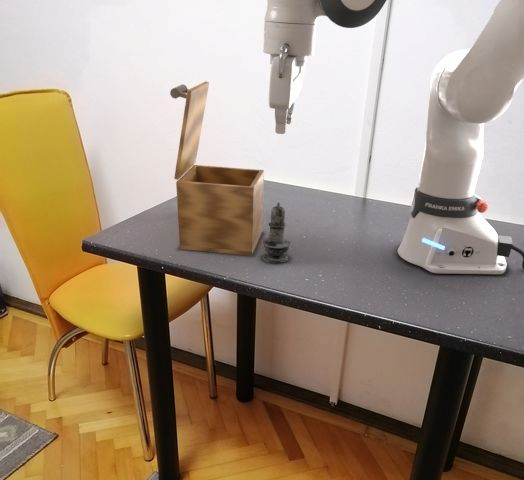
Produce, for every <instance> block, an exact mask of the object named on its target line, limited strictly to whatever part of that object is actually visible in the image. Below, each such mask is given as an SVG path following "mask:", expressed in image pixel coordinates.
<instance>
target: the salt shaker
mask: <svg viewBox="0 0 524 480" xmlns="http://www.w3.org/2000/svg"><path fill="white" fill-rule="evenodd" d="M285 217H286V210H285V208H284V207H283V206H281V203H280V202H277V203H276V206H274V207H272V208H271V210H270V222H268V226H269V234H268V237H265V238H264V239H263V240H262V243H261V244H262V245H263V248H264V252H265V253H266V254H264V255H263V257H262V259H263V260H264V261H265V262H267V263H270V264H284V263H286V262H288V260H289V257H288V256H287V255H286V253H288V250H289V248H290V246H291V241H290V240H289V239H288V238H286V236H285V228H286V227H287V223H285V219H286V218H285Z"/></svg>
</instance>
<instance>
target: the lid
mask: <svg viewBox="0 0 524 480" xmlns="http://www.w3.org/2000/svg"><path fill="white" fill-rule="evenodd" d="M209 86H210V82H209V81H207V80H205V81H203V82H201V83H199V84H197V85H194V86H192V87H191V88H188V87H187V85H185V84H182V83H181V84H180V85H178V86H176V87H173V88H171V89H170V91H169V94H170V96H171V98H172V99H175V100H176V99H178V98H182V99H185V104H184V109H183V110H184V111H183V118H182V124H181V130H180V137H179V143H178V150H177V158H176V164H175V171H174V176H173V177H174V180H175V181H178V180H179V179H180V178H181V177H182V176H183V175H184V174H185V173H186V172H187V171H188V170H189V169H190V168H191V167H192V166H193V165H196V162H197V156H198V151H199V146H200V145H199V144H200V139H201V134H202V133H201V132H202V128H203V122H204V115H205V110H206V103H207V97H208V92H209Z"/></svg>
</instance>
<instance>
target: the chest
mask: <svg viewBox="0 0 524 480" xmlns="http://www.w3.org/2000/svg"><path fill="white" fill-rule="evenodd" d="M264 181H265V170H264V169H253V168H241V167H229V166H228V167H227V166H213V165H201V164H194V165H193V166H192V167H191V168H190V169H189V170H188V171H187V172H186V173H185V174H183V175H182V176H181V177H180V178H179V179H178V180H176V182H175V186H176V205H177V223H178V239H179V241H178V242H179V250H185V251H186V250H187V251H195V252H196V251H197V252H206V253H207V252H208V253H218V254H229V255H239V256H240V255H241V256H250V257H252V256H253V254H254V253H255V249H256V247H257V245H258V243H259V240H260V238H261V236H262V233H263V214H264V213H263V208H264V183H265V182H264Z"/></svg>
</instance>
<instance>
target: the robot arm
mask: <svg viewBox="0 0 524 480" xmlns="http://www.w3.org/2000/svg"><path fill="white" fill-rule="evenodd" d="M266 2H267V5H266V11H265V12H266V13H265V16H264V25H263V45H262V46H263V49H262V50H263V51H262V52H263V53H264V54H267V55H269V58H270V59H269V64H270V75H269V88H268V107H269V108H270V109H274V120H275V130H274V131H275V133H276V134H278V135H284V134H286V132H287V125H290V124H291V123H292V122H293V113H294V107H295V101H296V100H297V98H298V97H299V95H300V94H301V91H302V87H303V80H304V75H305V69H306V65H307V58H308V57H311V56H314V55H315V48H316V47H315V46H316V34H317V21H318V18H319V17H324V16H325V17H326V18H328V19H329V20H330V21H331V22H332V23H334V25H337V26H339V27H342V28H344V29H356V28H359V27H362V26H364V25H366V24H368V23H370V22H371V21H372V20H374V19H375V18H376V16H377V15H378V14H379V13H380V12H381V10H382V9H383V8H384V5H385V4H386V2H387V0H267V1H266ZM523 80H524V0H499V2H498V3H497V5H496V6H495V7H494V10H493V12H492V15H491V16H490V18H489V20H488V22H487V23H486V24H485V26H484V28H483V29H482V31H481V32H480V34H479V35H478V37H477V39H476V40H475V41H474V43H473V44H472V45H471V47H470V48H469V49H459V50H455V51H453V52H451V53H449V54H447V56H445V57H443V59H442V60H440V62H438V63H437V65H436V66H435V68H434V69H433V72H432V75H431V79H430V92H429V98H428V99H429V100H428V109H427V119H426V129H425V130H426V131H425V133H426V134H425V145H424V152H423V158H422V162H421V168H420V173H419V178H418V184H417V186H416V187H415V189H414V193H413V195H412V199H411V204H410V212H409V213H410V219H409V222H408V225H407V228H406V231H405V233H404V235H403V238H402V240H401V243H400V244H399V246H398V248H397V254H398V256H399V257H400V258H402V259H403V260H404V261H406V262H407V263H410V264H412V265H415V266H418V267H421V268H423V269H424V270H426V271H428V272H430V273H432V274H443V275H444V274H445V275H446V274H447V275H448V274H449V275H451V274H454V275H455V274H456V275H503V274H504V273H505V272H506V270H507V266H508V265H507V261H506V258H509V257H510V254H511V251H512V250H513V251H514V252H517V253H518V254H519V255H520V256H521V257H522V263H521V267H522V270H524V250H522V249H521V248H519V247H517V246H515V245H514V244H513V237H512V236H507V235H498V233H497V232H496V230H495V229H494V227H492V225H491V224H490V223H489V222H488V221H487V220H486V219H485V218H484V217H483V216H482V215H481V214H483V213H485V212H487V210H488V209H489V206H488V203H487V201H485V200H483V199H482V198H481V196H479V195H478V194H477V193H476V192H475V189H476V185H477V181H478V177H479V174H480V170H481V166H482V161H483V158H484V128H485V124H487V123H491V122H493V121H494V120H497V119H498V118H499V117H501V116H502V115H503V114H504V113H505V112H506V111H507V109H509V106H510V105H511V103H512V100H513V99H514V94H515V92H516V90H517V88H518V87H519V86H520V84H521V83H522V81H523ZM480 213H481V214H480Z"/></svg>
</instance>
